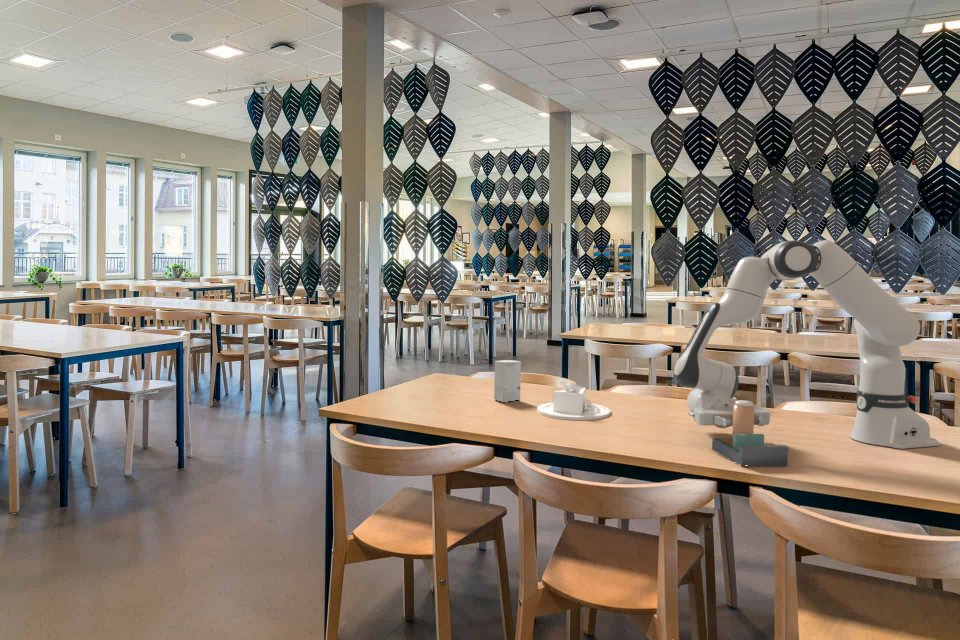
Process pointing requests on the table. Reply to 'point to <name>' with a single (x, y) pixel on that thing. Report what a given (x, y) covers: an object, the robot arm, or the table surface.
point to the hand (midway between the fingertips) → (745, 423)
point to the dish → (572, 405)
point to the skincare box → (507, 380)
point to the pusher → (747, 440)
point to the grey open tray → (753, 453)
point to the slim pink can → (743, 417)
